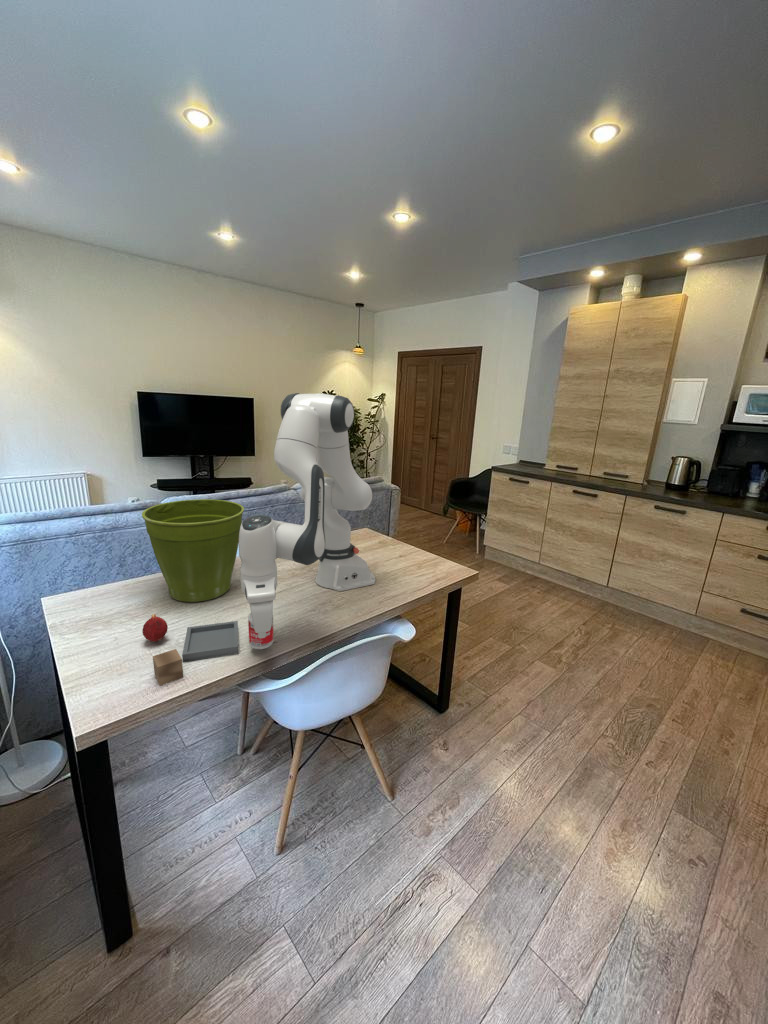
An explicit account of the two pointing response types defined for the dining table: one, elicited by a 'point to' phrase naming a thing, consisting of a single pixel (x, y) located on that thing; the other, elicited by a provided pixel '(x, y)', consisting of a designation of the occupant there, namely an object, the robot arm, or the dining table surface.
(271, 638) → the pill bottle
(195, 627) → the tray
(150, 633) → the red round piece
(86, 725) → the dining table surface
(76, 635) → the dining table surface
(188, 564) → the plant pot
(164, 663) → the walnut block
